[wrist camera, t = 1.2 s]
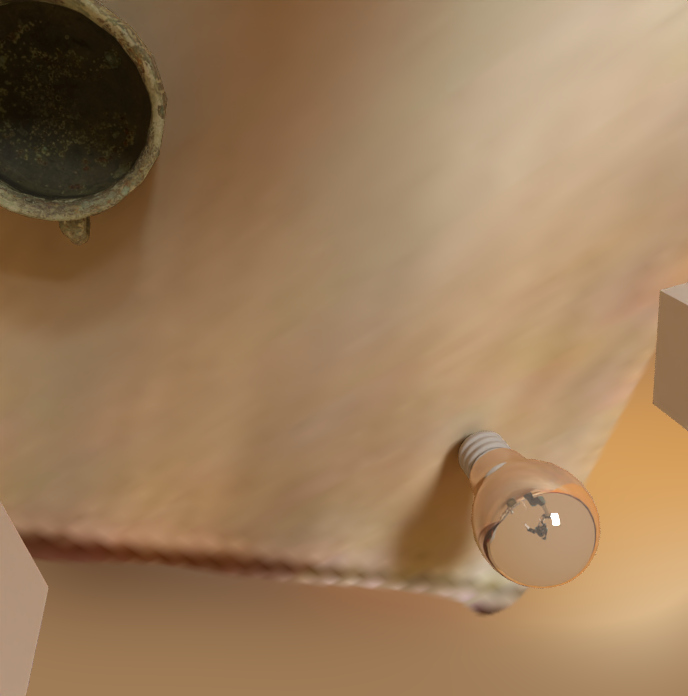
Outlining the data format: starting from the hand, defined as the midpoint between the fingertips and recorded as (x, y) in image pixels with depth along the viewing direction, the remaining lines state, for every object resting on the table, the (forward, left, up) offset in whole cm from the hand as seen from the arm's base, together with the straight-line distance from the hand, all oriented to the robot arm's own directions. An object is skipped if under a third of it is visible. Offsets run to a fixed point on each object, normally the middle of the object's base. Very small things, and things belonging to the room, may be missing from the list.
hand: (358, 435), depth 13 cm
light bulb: (+20, +12, -24) cm, 33 cm away
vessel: (-5, -7, -24) cm, 26 cm away
